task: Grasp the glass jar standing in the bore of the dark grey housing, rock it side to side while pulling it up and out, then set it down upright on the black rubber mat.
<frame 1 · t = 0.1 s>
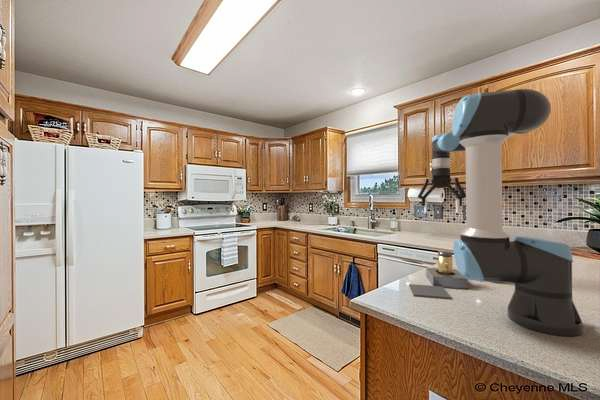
hand: (441, 213, 123), 28 cm above the counter, fingers open, 13 cm apart
mat: (428, 291, 97), on the counter
soda can: (493, 281, 109), on the counter
glass jar: (445, 267, 108), in the housing
housing: (445, 282, 108), on the counter
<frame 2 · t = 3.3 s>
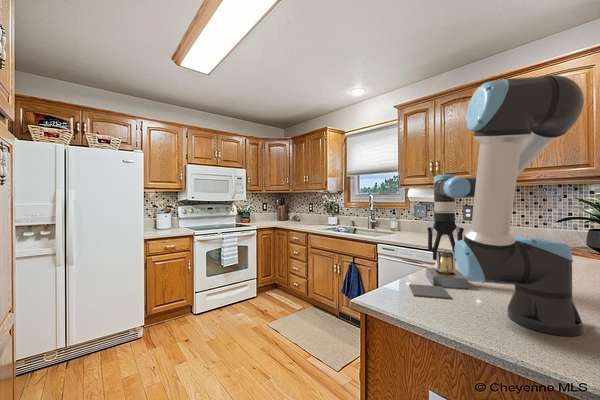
hand: (445, 268, 108), 6 cm above the counter, fingers closed on glass jar, 5 cm apart
glass jar: (445, 267, 108), in the housing, touching gripper
everything else where it was.
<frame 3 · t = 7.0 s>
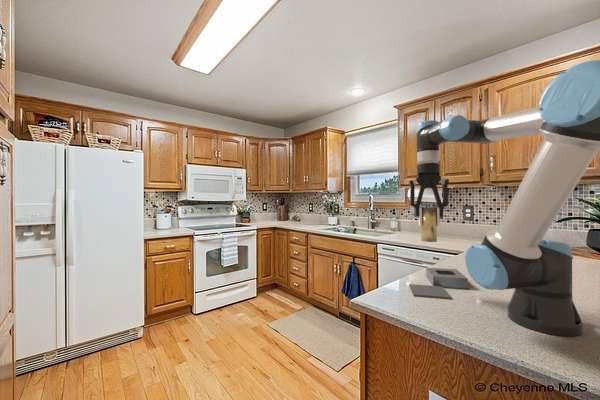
hand: (428, 225, 97), 25 cm above the counter, fingers closed on glass jar, 5 cm apart
glass jar: (428, 224, 97), point 25 cm above the counter, touching gripper
everything else where it was.
when the fingers open (8 cm above the counter, at t = 10.6 s): glass jar drops 1 cm, resting on mat.
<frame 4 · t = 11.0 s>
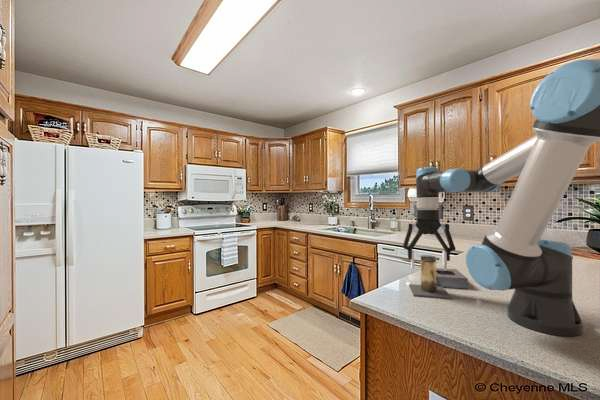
hand: (428, 268, 97), 9 cm above the counter, fingers open, 10 cm apart
glass jar: (428, 273, 97), on the mat, point 7 cm above the counter
everything else where it was.
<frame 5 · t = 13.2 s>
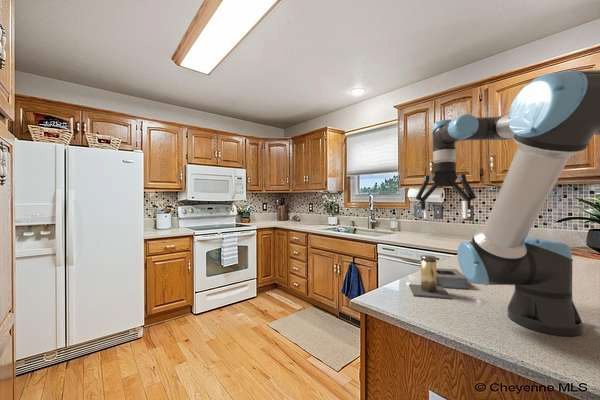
hand: (445, 218, 98), 27 cm above the counter, fingers open, 13 cm apart
nothing on the counter moved.
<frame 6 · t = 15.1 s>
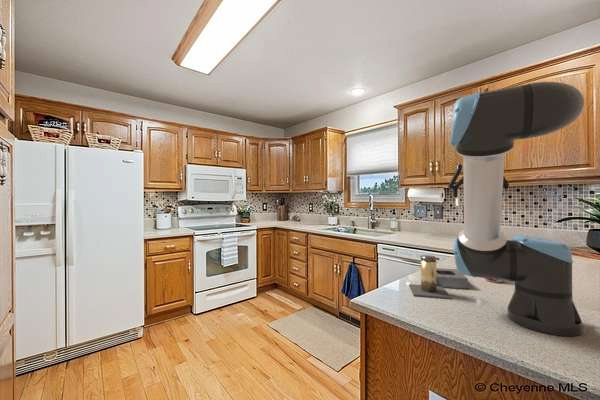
hand: (477, 205, 102), 32 cm above the counter, fingers open, 13 cm apart
nothing on the counter moved.
at the end: glass jar inside the target area on the mat (0.0 cm from its centre), point 6.9 cm above the mat's base; glass jar tilted 0°; the gripper is holding nothing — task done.
